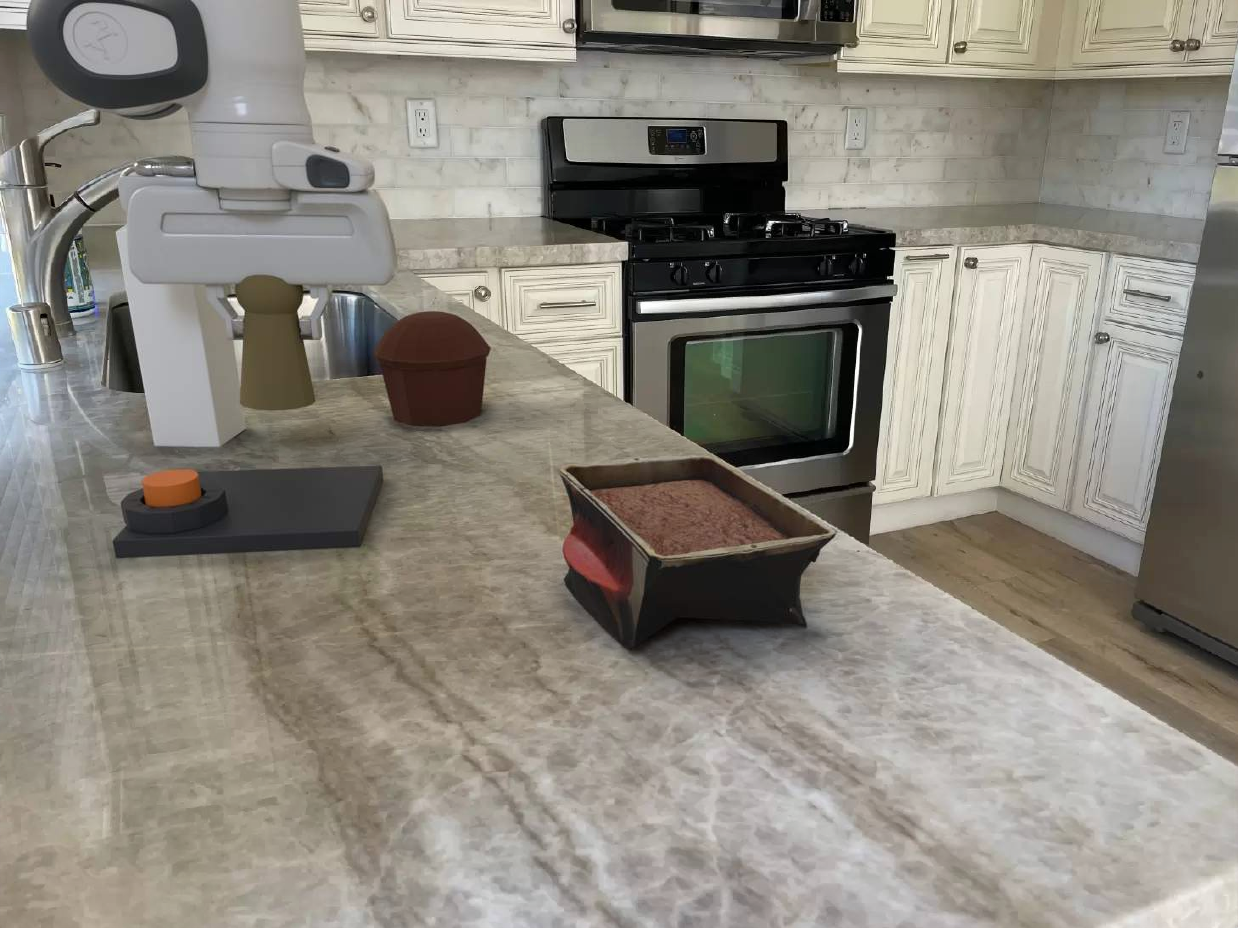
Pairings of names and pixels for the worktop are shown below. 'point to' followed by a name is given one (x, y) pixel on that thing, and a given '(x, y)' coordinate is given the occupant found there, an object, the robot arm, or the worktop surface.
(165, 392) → the milk
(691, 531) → the baking dish
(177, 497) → the button
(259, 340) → the cork
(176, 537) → the scale
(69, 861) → the worktop surface
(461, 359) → the muffin
